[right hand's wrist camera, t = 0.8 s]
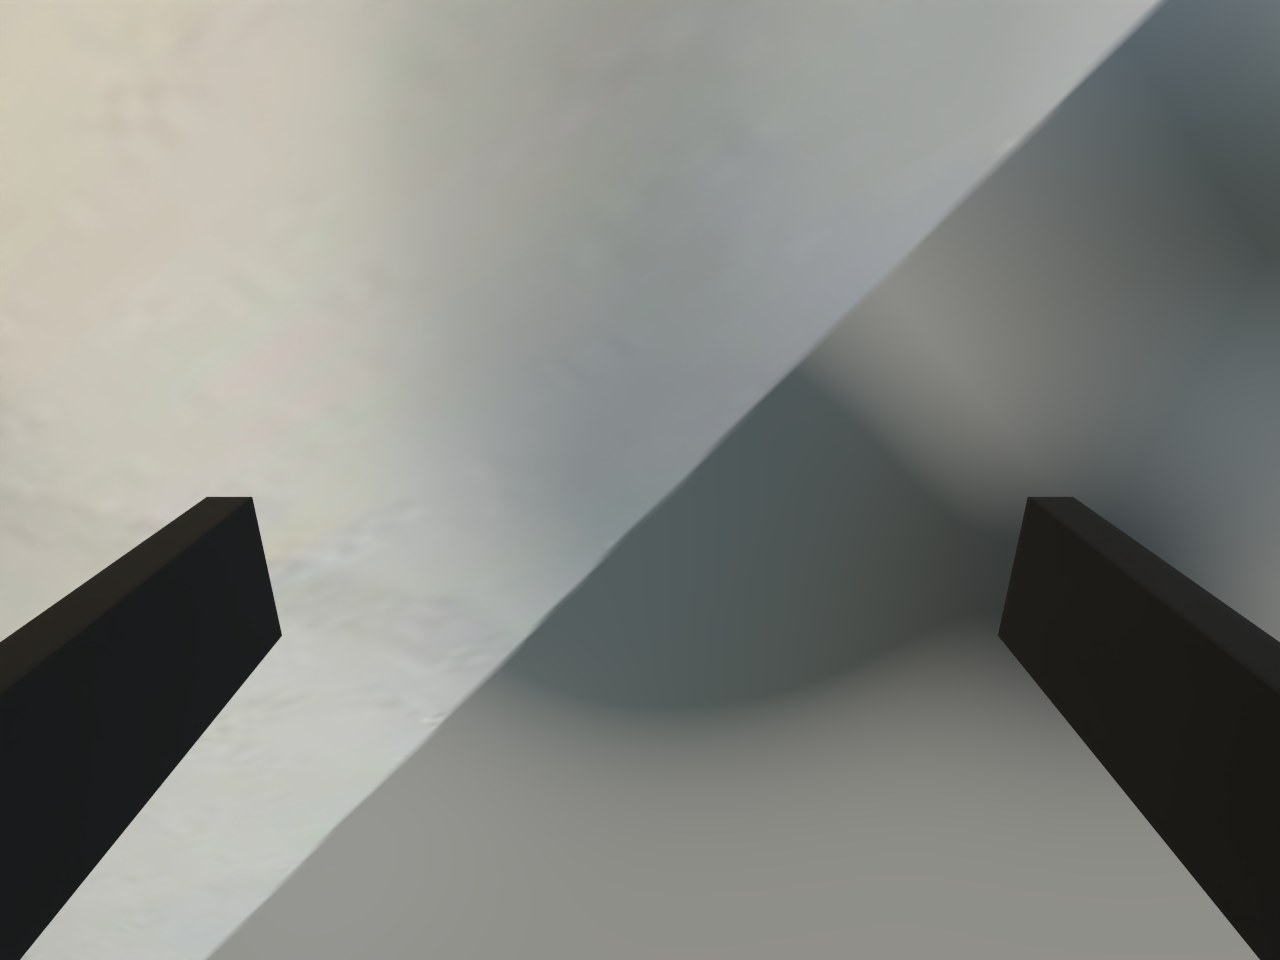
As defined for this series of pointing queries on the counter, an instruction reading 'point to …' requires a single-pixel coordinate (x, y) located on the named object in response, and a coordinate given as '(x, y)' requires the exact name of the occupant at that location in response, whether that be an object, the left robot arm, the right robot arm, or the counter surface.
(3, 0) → the counter surface
